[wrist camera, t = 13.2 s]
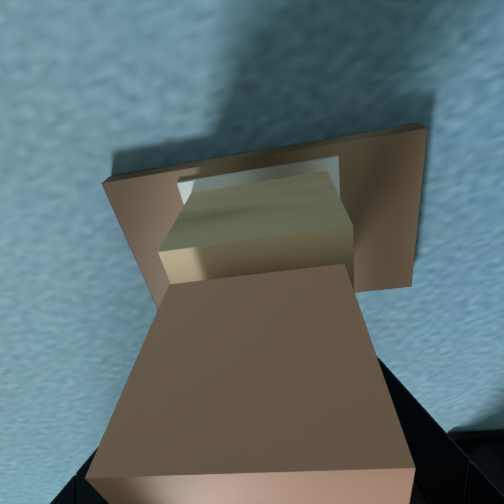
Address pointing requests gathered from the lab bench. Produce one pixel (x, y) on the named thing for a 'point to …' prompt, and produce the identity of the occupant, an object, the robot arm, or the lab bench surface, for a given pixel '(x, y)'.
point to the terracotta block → (256, 400)
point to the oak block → (259, 230)
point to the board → (287, 165)
